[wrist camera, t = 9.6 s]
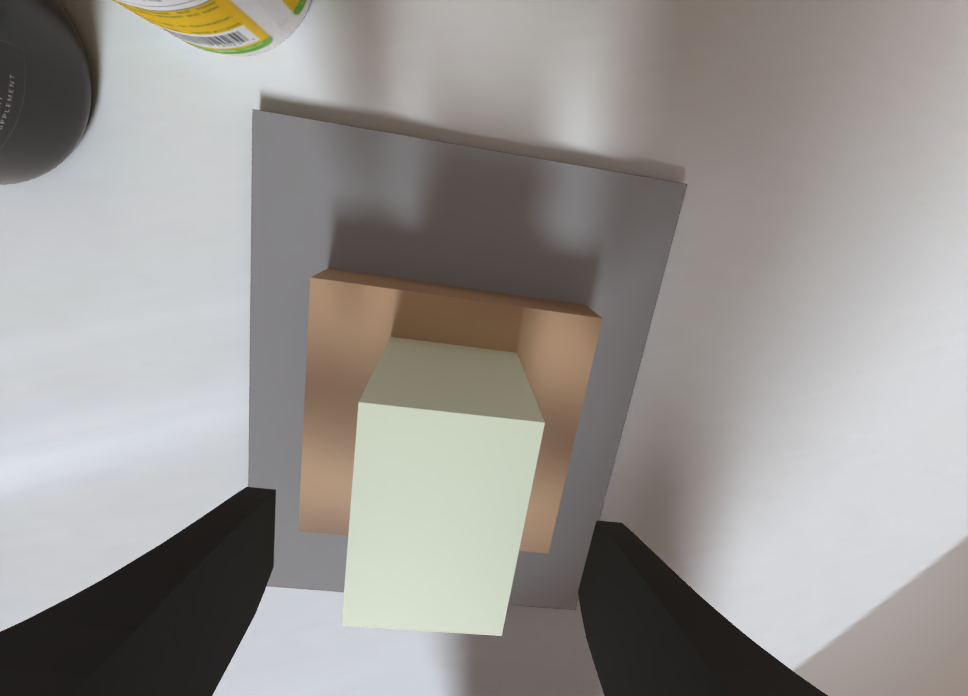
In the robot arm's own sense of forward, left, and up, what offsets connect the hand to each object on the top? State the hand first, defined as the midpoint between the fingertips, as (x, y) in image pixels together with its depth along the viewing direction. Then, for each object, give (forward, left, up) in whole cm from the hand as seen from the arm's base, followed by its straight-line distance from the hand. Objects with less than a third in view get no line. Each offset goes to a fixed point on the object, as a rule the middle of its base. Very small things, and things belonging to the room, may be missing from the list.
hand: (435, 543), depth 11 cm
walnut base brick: (0, 0, -8) cm, 8 cm away
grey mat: (0, 0, -8) cm, 8 cm away
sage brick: (0, 0, -5) cm, 5 cm away
